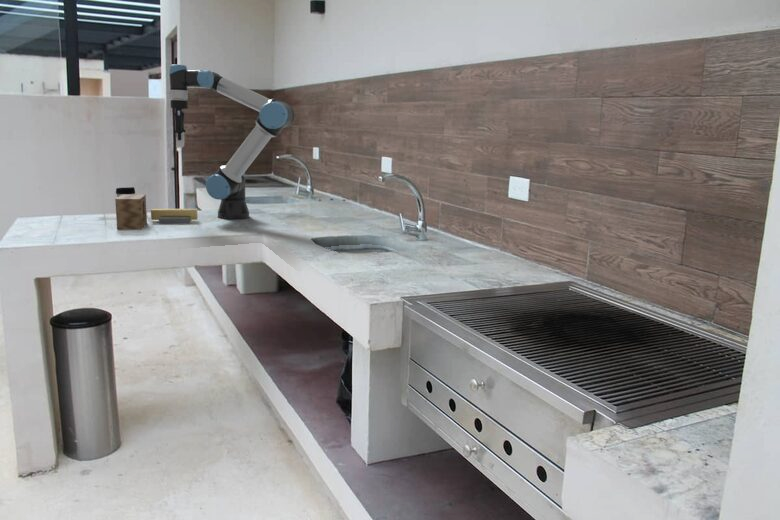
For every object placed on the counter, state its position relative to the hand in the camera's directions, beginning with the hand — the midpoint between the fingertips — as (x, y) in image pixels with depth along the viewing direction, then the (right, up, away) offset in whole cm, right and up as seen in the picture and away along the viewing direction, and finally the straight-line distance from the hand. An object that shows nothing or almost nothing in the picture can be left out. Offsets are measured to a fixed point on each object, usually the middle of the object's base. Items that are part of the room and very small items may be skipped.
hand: (180, 146), depth 302 cm
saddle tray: (-2, -35, -2) cm, 35 cm away
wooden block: (-16, -38, -17) cm, 44 cm away
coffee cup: (-25, -34, -1) cm, 42 cm away
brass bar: (-2, -34, -2) cm, 34 cm away
